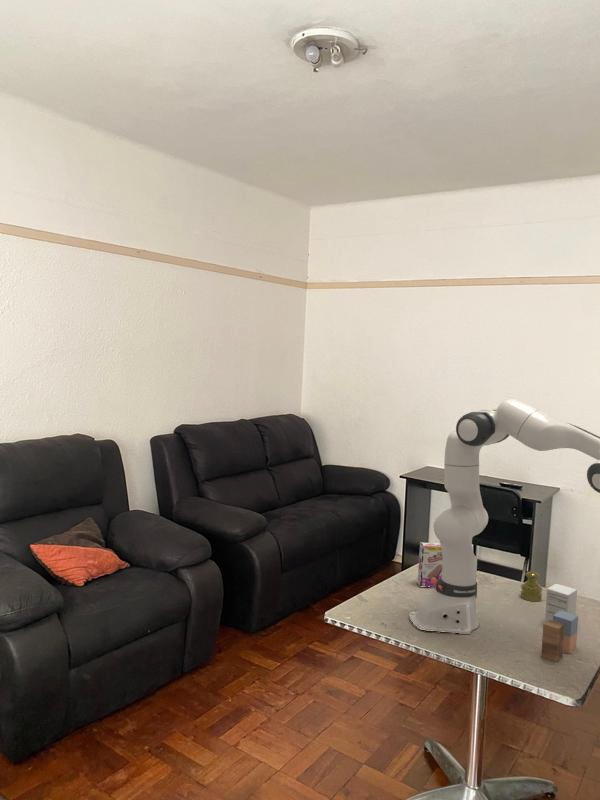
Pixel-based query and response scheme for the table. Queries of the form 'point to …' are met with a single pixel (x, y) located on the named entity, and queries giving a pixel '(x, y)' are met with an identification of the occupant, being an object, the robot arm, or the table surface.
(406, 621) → the table surface
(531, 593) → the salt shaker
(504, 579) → the table surface
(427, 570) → the candy bar box
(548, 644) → the walnut block
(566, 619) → the slate block
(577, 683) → the table surface
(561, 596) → the supplement box
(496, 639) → the table surface
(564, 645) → the terracotta block
